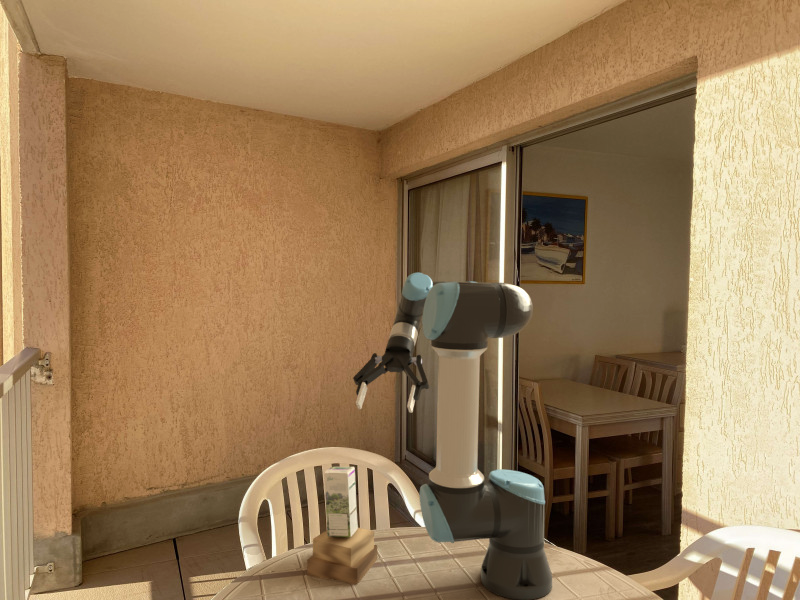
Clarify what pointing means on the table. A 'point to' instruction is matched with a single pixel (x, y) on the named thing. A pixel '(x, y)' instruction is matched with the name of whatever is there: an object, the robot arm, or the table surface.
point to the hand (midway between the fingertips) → (383, 408)
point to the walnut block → (341, 568)
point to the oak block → (344, 547)
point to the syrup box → (340, 501)
